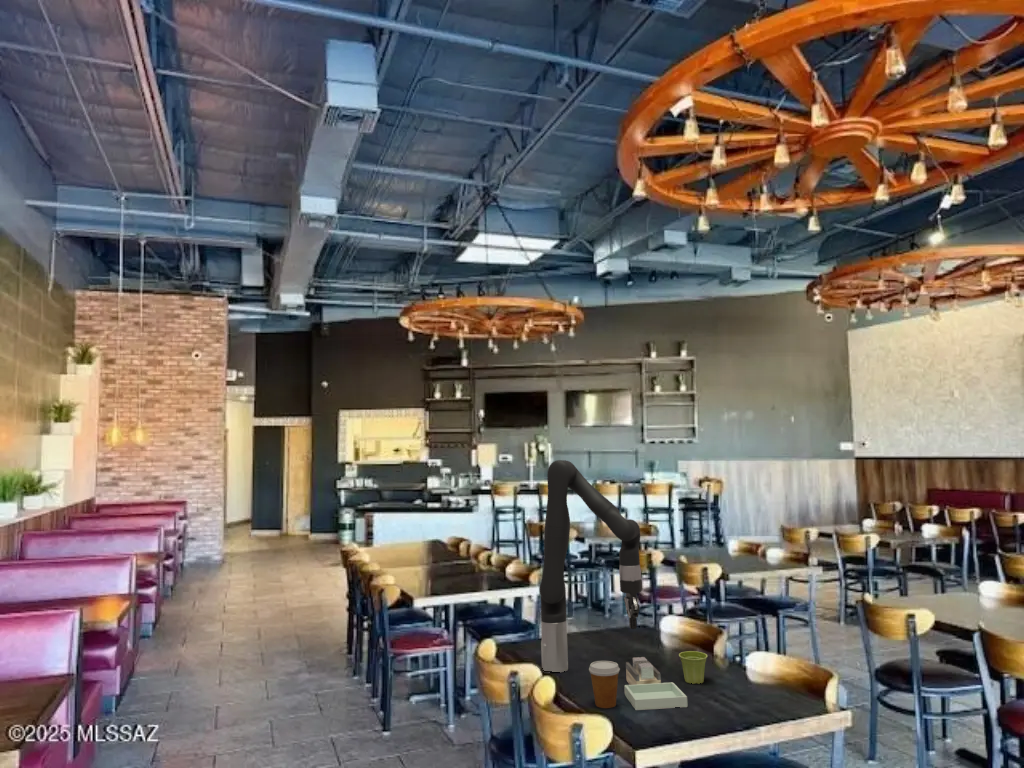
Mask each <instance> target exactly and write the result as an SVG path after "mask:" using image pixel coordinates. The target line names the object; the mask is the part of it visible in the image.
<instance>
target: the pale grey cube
mask: <svg viewBox="0 0 1024 768" xmlns="http://www.w3.org/2000/svg"><path fill="white" fill-rule="evenodd" d="M650 663H651V662H650ZM650 663H640V664H638V674H639V677H640V678H641V680H650V679H654V672H653V666H654V665H653V664H652V663H651V664H652V665H653V666H652V665H651V664H650Z"/></svg>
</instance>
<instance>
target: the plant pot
mask: <svg viewBox="0 0 1024 768" xmlns="http://www.w3.org/2000/svg"><path fill="white" fill-rule="evenodd" d="M678 657H679V659H680V661H681V665H682V672H683V675H684V676H683V677H684V682H686V683H688V684H691V683H692V684H691V685H694V684H698V685H700V683H701V684H703V683H704V682H705V681H704V680H705V667H706V662H707V658H708V654H707V653H705V652H701V651H696V650H689V651H682V652H680V653H678Z"/></svg>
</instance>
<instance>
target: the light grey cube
mask: <svg viewBox="0 0 1024 768" xmlns="http://www.w3.org/2000/svg"><path fill="white" fill-rule="evenodd" d="M648 661H649V660H648V659H647V658H646V657H645V656H641V657H639V656H638V657H632V667H633V668H634V669H635V670H636V672H637V673H638V664H640V663H648Z"/></svg>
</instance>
